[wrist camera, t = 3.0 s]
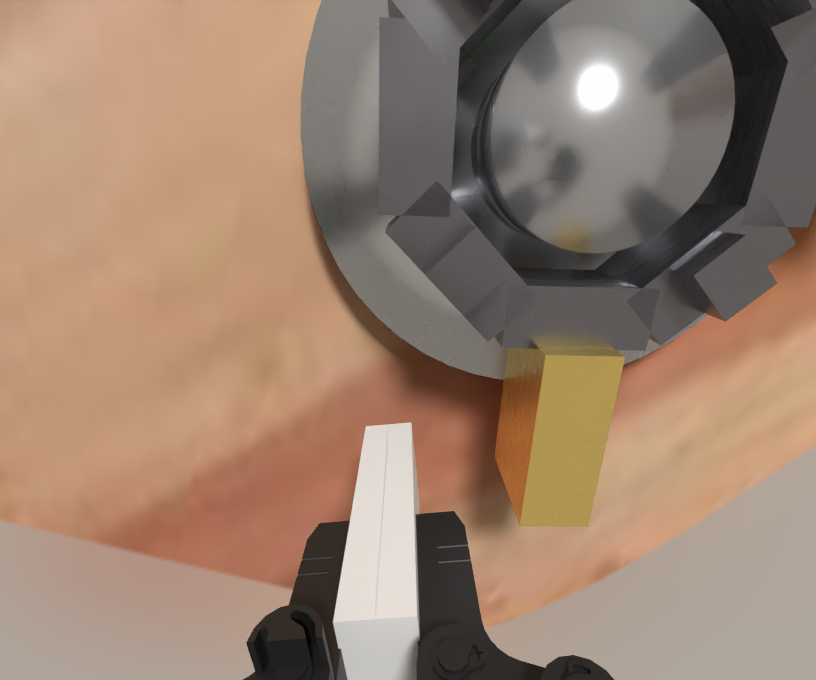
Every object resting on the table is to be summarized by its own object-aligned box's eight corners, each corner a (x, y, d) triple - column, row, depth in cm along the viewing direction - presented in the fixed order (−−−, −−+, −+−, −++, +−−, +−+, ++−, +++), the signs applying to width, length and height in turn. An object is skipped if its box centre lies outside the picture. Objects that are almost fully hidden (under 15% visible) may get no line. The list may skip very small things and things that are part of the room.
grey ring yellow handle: (385, -104, 12) (378, -253, 8) (808, -81, 12) (1007, -214, 8) (380, 455, 18) (375, 529, 14) (659, 458, 18) (731, 531, 14)
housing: (319, 363, 18) (286, 437, 13) (294, -189, 12) (210, -499, 7) (777, 372, 19) (933, 446, 14) (965, -150, 13) (1387, -405, 7)
